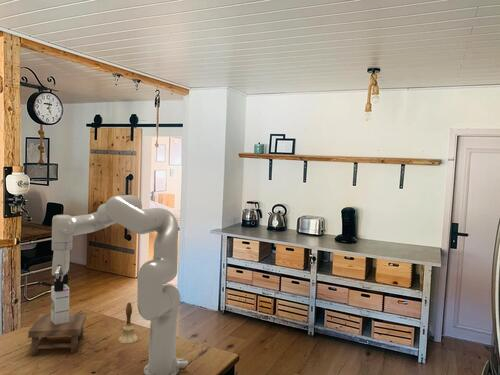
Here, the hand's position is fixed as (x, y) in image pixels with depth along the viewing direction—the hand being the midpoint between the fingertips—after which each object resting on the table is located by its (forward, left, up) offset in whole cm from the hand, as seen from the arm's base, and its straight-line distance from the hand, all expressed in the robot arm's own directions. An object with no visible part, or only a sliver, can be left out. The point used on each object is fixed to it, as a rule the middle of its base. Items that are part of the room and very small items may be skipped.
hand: (61, 287), depth 160 cm
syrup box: (0, 0, -14) cm, 14 cm away
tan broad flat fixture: (0, 0, -24) cm, 24 cm away
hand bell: (-27, -2, -24) cm, 36 cm away
